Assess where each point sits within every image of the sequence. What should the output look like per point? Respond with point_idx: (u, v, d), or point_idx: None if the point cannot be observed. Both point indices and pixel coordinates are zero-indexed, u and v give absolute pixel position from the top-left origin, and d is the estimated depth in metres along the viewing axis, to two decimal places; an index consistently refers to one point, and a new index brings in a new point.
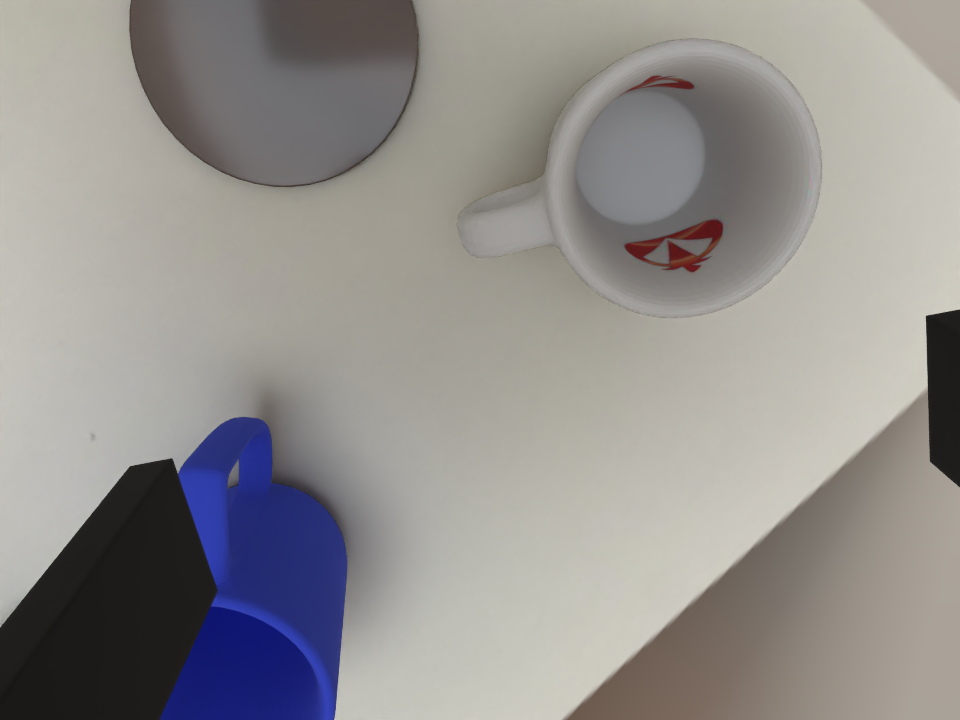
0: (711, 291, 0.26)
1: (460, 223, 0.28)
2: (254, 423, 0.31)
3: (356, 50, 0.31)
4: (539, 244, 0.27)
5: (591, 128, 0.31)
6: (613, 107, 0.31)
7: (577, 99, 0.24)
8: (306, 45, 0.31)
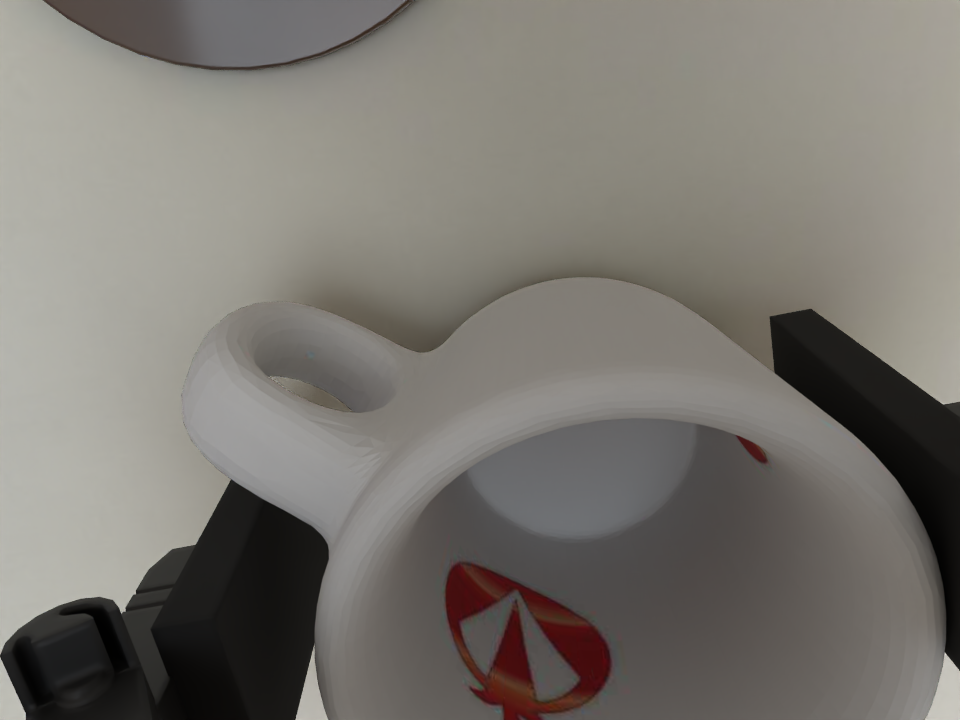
0: None
1: (208, 344, 0.12)
2: None
3: None
4: (302, 519, 0.12)
5: None
6: None
7: (594, 373, 0.10)
8: None
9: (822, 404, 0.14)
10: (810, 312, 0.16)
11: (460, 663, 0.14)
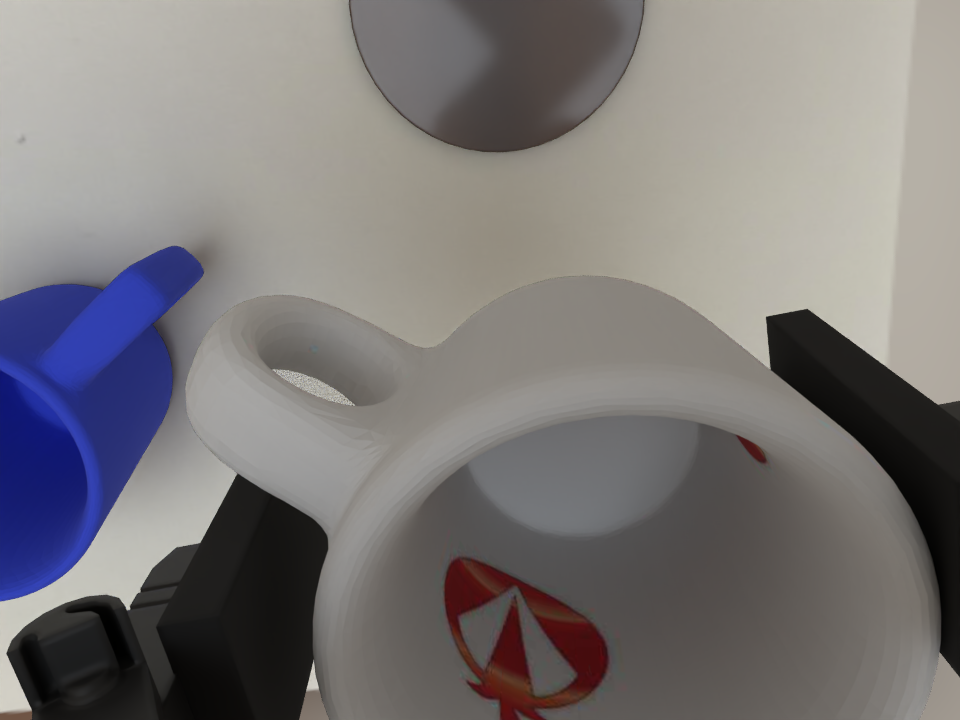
0: None
1: (212, 336, 0.12)
2: (201, 270, 0.29)
3: (549, 69, 0.30)
4: (302, 510, 0.12)
5: None
6: None
7: (593, 369, 0.10)
8: (518, 27, 0.30)
9: (818, 404, 0.14)
10: (807, 312, 0.16)
11: (458, 657, 0.14)
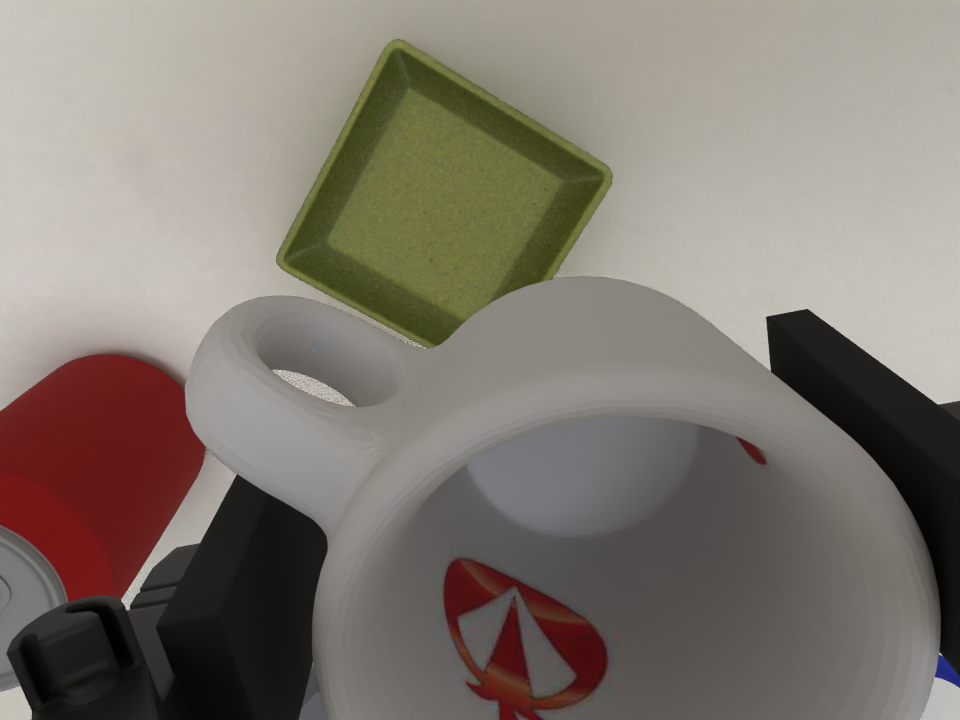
0: None
1: (211, 337, 0.12)
2: None
3: None
4: (301, 511, 0.12)
5: None
6: None
7: (593, 371, 0.10)
8: None
9: (818, 403, 0.14)
10: (806, 312, 0.16)
11: (457, 658, 0.14)
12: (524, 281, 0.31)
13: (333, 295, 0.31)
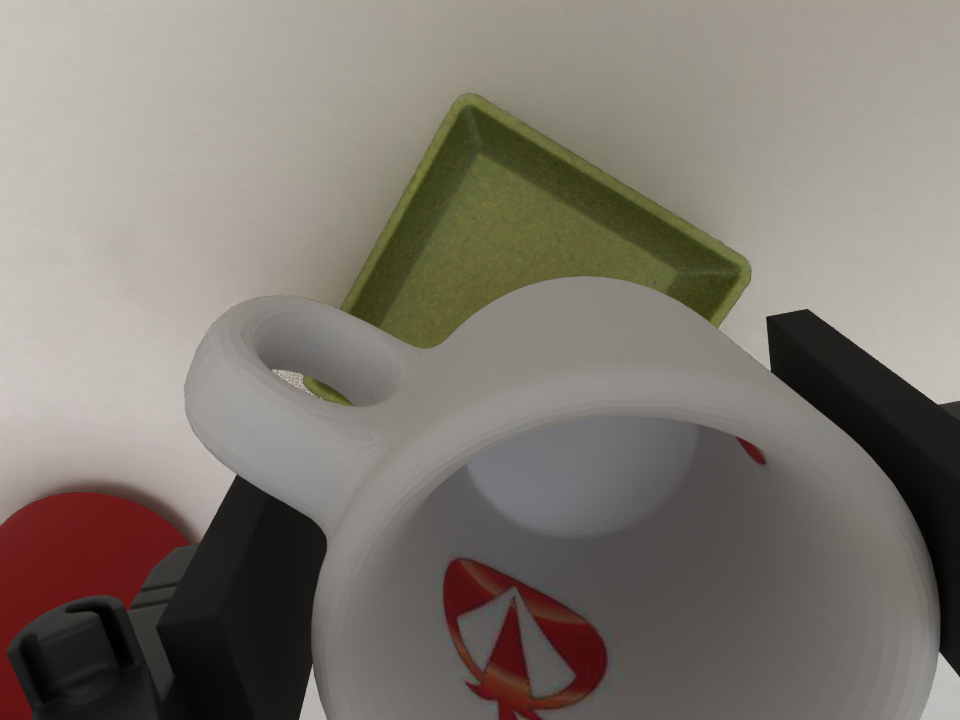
0: None
1: (211, 336, 0.12)
2: None
3: None
4: (301, 511, 0.12)
5: None
6: None
7: (592, 371, 0.10)
8: None
9: (818, 403, 0.14)
10: (806, 312, 0.16)
11: (456, 658, 0.14)
12: None
13: None
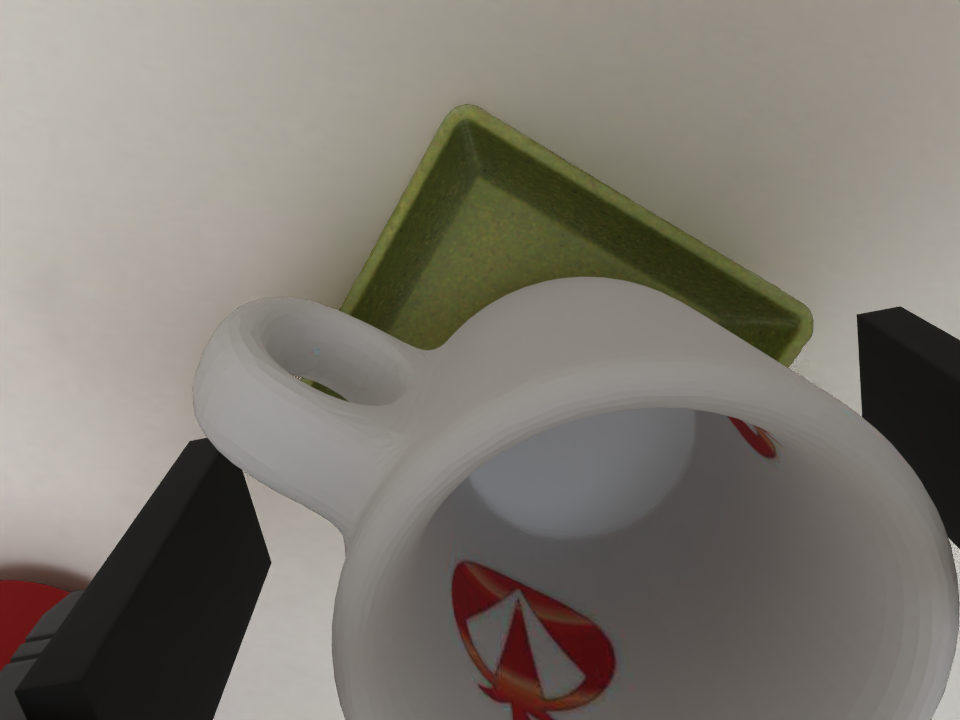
0: None
1: (221, 336, 0.12)
2: None
3: None
4: (318, 512, 0.11)
5: None
6: None
7: (620, 362, 0.10)
8: None
9: (925, 406, 0.13)
10: (901, 310, 0.15)
11: (468, 661, 0.14)
12: None
13: None
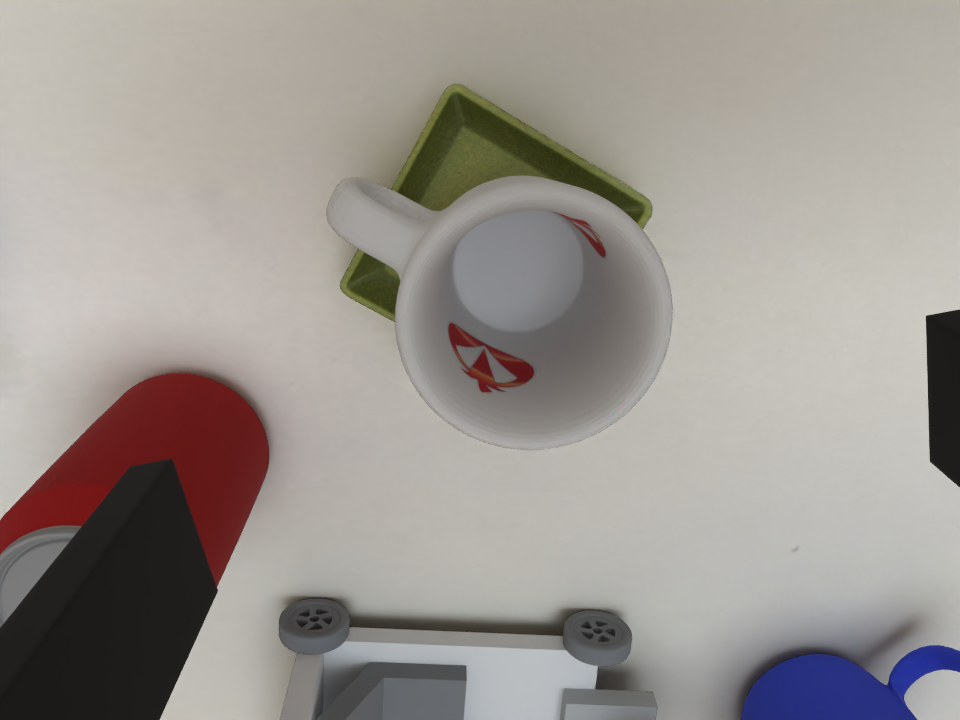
0: (481, 419, 0.26)
1: (341, 186, 0.26)
2: None
3: None
4: (388, 262, 0.25)
5: (505, 212, 0.31)
6: (535, 213, 0.31)
7: (518, 184, 0.24)
8: None
9: None
10: None
11: (456, 358, 0.28)
12: None
13: (392, 318, 0.33)
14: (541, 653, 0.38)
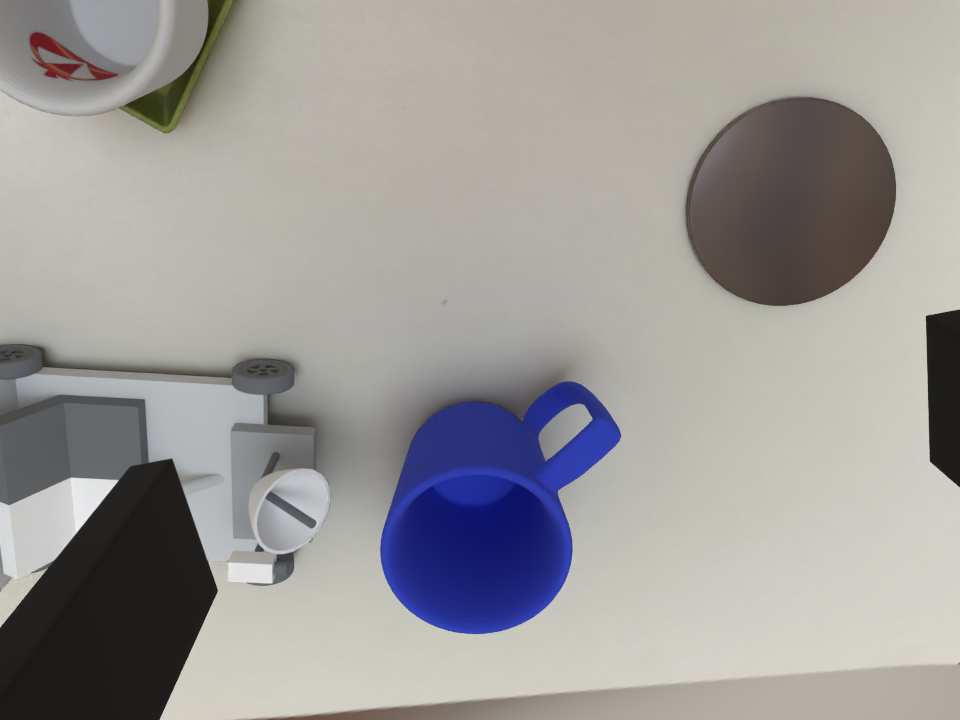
0: (29, 87, 0.31)
1: None
2: None
3: (824, 250, 0.43)
4: None
5: None
6: None
7: None
8: (805, 223, 0.42)
9: None
10: None
11: (30, 51, 0.33)
12: None
13: None
14: (210, 388, 0.43)
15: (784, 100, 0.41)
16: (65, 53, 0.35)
